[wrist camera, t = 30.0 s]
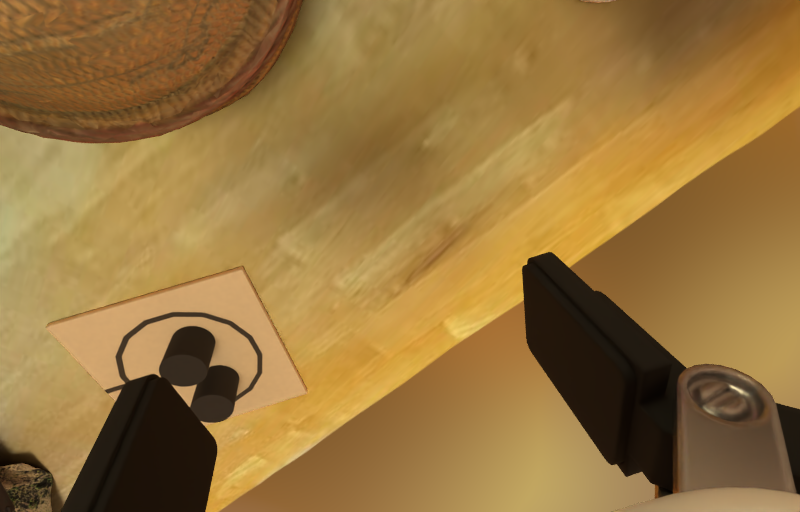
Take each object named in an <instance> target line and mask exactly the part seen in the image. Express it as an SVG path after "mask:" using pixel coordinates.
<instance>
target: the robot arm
mask: <svg viewBox="0 0 800 512" xmlns="http://www.w3.org/2000/svg"><path fill="white" fill-rule="evenodd" d="M581 1H583V2H593V3H601V2H611V1H615V0H581ZM522 275H523V291H524V307H525V324H526V339H527V344H528V346H529V349H530V351H531V352H532V354H533V355H534V357H535V358H536V360H537V361H538V363H539V364H540V365H541V367H542V368H543V370H544V371H545V373H546V374H547V376H548V377H549V378H550V380H551V381H552V383H553V384H554V386H555V387H556V389H557V390H558V392H559V393H560V394H561V396H562V397H563V399H564V400H565V402H566V403H567V405H568V406H569V407H570V409H571V410H572V412H573V413H574V414H575V416H576V417H577V419H578V420H579V422H580V423H581V425H582V426H583V428H584V429H585V431H586V432H587V433H588V435H589V436H590V438H591V439H592V441H593V442H594V444H595V445H596V446H597V448H598V449H599V451H600V452H601V454H602V455H603V456H604V458H605V459H606V461H607V462H608V463H609V464H611V465H615V464H617V465H618V466H619V468H620V469H621V471H622V472H623V473H624V475H625V476H626V477H628V476H630V475H633V474H636V473H639V472H643V473H644V475H645V476H646V477H647V479H648V480H649V481H650V483H652V484H655V499H653V500H649V501H645V502H641V503H637V504H634V505H631V506H628V507H625V508H622V509H619V510H616V511H613V512H800V409H797V408H793V407H789V406H785V405H781V404H777V403H775V402H774V399H773V397H772V395H771V394H770V393H769V392H768V391H767V390H766V388H765V387H764V386H763V385H762V384H760V383H759V382H758V381H756V380H755V379H753V378H752V377H750V376H749V375H747V374H744V373H742V372H740V371H738V370H736V369H733V368H729V367H725V366H721V365H714V364H701V365H694V366H692V367H690V368H686V367H685V366H684V365H682V364H681V363H680V362H679V361H678V360H677V359H676V358H674V356H672V355H671V354H670V353H669V352H668V351H667V350H666V349H665V348H663V347H662V346H661V345H660V344H659V343H658V342H657V341H656V340H655V339H654V338H652V337H651V336H650V335H649V334H648V333H647V332H646V331H645V330H644V329H642V328H641V327H640V326H639V325H638V324H637V323H636V322H635V321H634V320H632V319H631V318H630V317H629V316H628V315H627V314H626V313H625V312H624V311H623V310H621V309H620V308H619V307H618V306H617V305H616V304H615V303H614V302H613V301H611V300H610V299H609V298H608V297H607V296H606V295H604V294H603V293H601V292H599V291H593V290H592V289H591V288H590V287H589V286H588V285H587V284H586V283H585V282H584V281H583V280H582V279H580V278H579V277H578V276H577V275H576V274H575V273H574V272H573V271H572V270H571V269H570V268H569V267H568V266H566V265H565V264H564V263H563V262H562V261H561V260H560V259H559V258H558V257H557V256H556V255H555V254H553V253H552V252H548V253H545V254H541V255H538V256H535V257H532V258H529V259H528V262H527V265H524V266H523V268H522ZM216 457H217V444H216V441H215V439H214V437H213V436H212V435H211V434H210V432H209V431H208V430H207V429H206V427H205V426H204V425H203V424H202V422H201V421H200V420H199V419H198V417H197V416H196V415H195V414H194V412H193V411H192V410H191V409H190V407H189V406H188V405H187V403H186V402H185V401H184V400H183V398H182V397H181V396H180V395H179V393H178V392H177V391H176V390H175V388H174V387H173V386H172V385H171V383H170V382H169V381H168V380H167V379H166V378H164V377H159V376H158V375H156V374H150V375H146V376H143V377H140V378H137V379H133V380H130V381H128V382H126V383H125V385H124V386H123V388H122V390H121V392H120V394H119V396H118V398H117V400H116V402H115V404H114V406H113V408H112V410H111V412H110V414H109V416H108V418H107V420H106V422H105V424H104V426H103V428H102V430H101V432H100V434H99V436H98V438H97V440H96V442H95V444H94V446H93V448H92V450H91V452H90V454H89V456H88V458H87V460H86V462H85V464H84V466H83V468H82V470H81V472H80V474H79V476H78V478H77V480H76V482H75V484H74V486H73V488H72V490H71V492H70V494H69V496H68V498H67V500H66V502H65V504H64V506H63V508H62V510H61V512H205V510H206V506H207V501H208V496H209V491H210V486H211V481H212V476H213V471H214V466H215V461H216Z"/></svg>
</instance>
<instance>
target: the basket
mask: <svg viewBox="0 0 800 512" xmlns="http://www.w3.org/2000/svg"><path fill="white" fill-rule="evenodd" d="M302 2H303V0H0V125H2V126H6V127H9V128H12V129H15V130H18V131H21V132H25V133H30V134H34V135H37V136H40V137H43V138H52V139H59V140H65V141H72V142H81V143H120V142H127V141H134V140H139V139H145V138H150V137H155V136H161V135H163V134H166V133H168V132H172V131H173V130H177V129H180V128H182V127H184V126H186V125H189V124H191V123H193V122H195V121H197V120H199V119H201V118H203V117H204V116H208V115H210V114H212V113H214V112H217V111H219V110H221V109H223V108H224V107H226V106H228V105H230V104H232V103H234V102H235V101H236V100H239V99H241V98H242V97H244V96H246V95H247V94H248V93H249V92H250V91H251V90H252V89H253V88H254V87H255V86H256V85H257V84H258V83H259V82H260V81H261V80H262V79H263V78H264V77H265V75H266V74H267V73H268V72H269V71H270V69H271V68H272V67H273V65H274V64H275V63H276V61H277V60H278V58H279V56H280V54H281V52H282V50H283V49H284V47H285V45H286V43H287V41H288V39H289V37H290V35H291V33H292V32H293V29H294V26H295V24H296V20H297V17H298V14H299V11H300V8H301V5H302Z"/></svg>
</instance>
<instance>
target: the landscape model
mask: <svg viewBox="0 0 800 512" xmlns="http://www.w3.org/2000/svg"><path fill="white" fill-rule="evenodd" d="M0 481H1V483H2V485H3V486H4V488H5V490H6V492H7V494H8V495H9V497H10V499H11V501H12V502H13V504H14V506H15V510H14V511H13V512H52V508H51V488H52V485H53V479H52V475H51V474H50V473H49V471H48V472H47V473H46V471H44V470H43V469H42V470H41V469H40V468H34V467H32V466H30V465H27V464H24V463H19V464H13V465H8V466H2V467H0Z"/></svg>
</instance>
